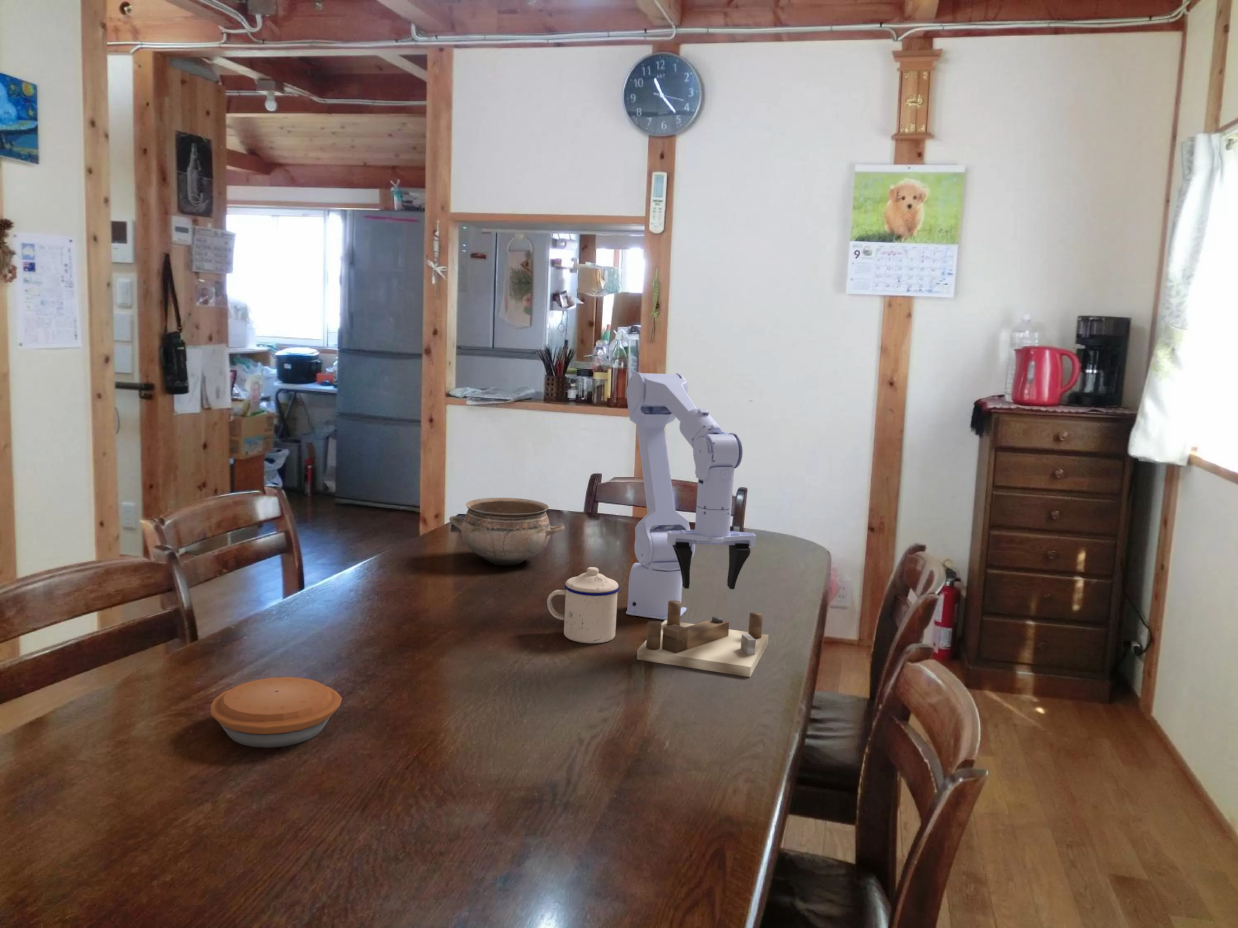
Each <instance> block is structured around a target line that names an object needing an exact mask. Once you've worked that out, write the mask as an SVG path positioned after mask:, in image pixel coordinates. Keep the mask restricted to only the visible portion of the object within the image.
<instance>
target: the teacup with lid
mask: <svg viewBox="0 0 1238 928" xmlns="http://www.w3.org/2000/svg"><path fill="white" fill-rule="evenodd" d="M599 571H600V569H599V568H598V567H595V566H594V567H593V566H590V567H588V568H586V572H584V573H581V574H579V575H578V576H573V577H571V578H568V579H567V580H566V581H565V584H564V588H565V589H556V590H554V591H552V592H551V593H549V595H548V596H547V600H546V604H547V609H548V611H549V613H550V614H551V615H552V616H553V617H554V618H556V619H558V620H561V621H564V622H563V625H564V626H563V635H564V636H565V637H566V638H567V639H568V640H571V641H573V642H577V643H583V644H603V643H606V642H610V641H612V640H613V639H614V638H615V637H616V627H617V608H618V592H619V590H620V586H619V583H618V582H617V581H616V580H614V579H613V578H609V577H607V576H605V575H604V574H602V573H599ZM557 595H558V596H565V597H564V600H565V601H564V603H565V604H564V614H561V613H558V612H557V611H556V609H555V608H554V605H553V598H554V597H555V596H557Z"/></svg>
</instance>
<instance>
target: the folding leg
mask: <svg viewBox="0 0 1238 928" xmlns="http://www.w3.org/2000/svg"><path fill="white" fill-rule="evenodd" d="M729 629H730V621H727V620H724V618H723V617H721V616H718V615H717V616H712V617H711V619H708V620H705V621H702V622H697V623H695V625H691V626H688V627H682V626H679V625H676V624H673V625H670V626H667V627H663V640H662V649H664V650H667V651H670V652H673V653H679V652H682V651H685V650H688V649H691V648H694V647H697V646H700V645H703V644H706V643H709V642H712V641H715V640H718V639H721V638H724V637H727V636H728V634H729Z"/></svg>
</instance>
